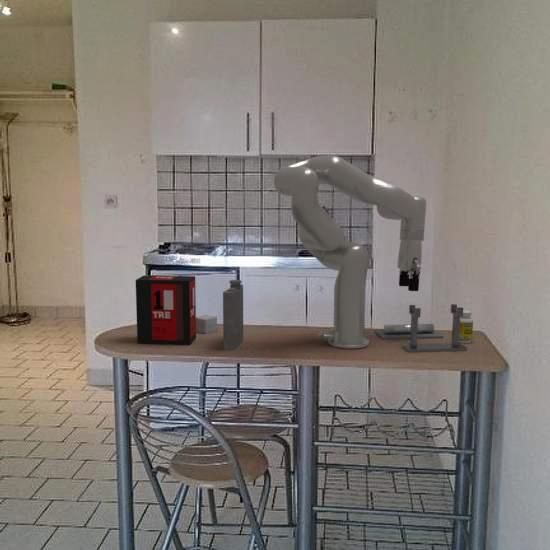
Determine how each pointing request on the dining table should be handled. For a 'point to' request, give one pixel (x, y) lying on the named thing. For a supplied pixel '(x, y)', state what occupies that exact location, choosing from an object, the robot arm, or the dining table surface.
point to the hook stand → (452, 346)
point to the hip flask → (233, 316)
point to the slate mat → (408, 335)
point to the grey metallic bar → (408, 329)
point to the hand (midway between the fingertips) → (408, 288)
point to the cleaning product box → (166, 310)
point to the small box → (206, 324)
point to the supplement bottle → (466, 327)
